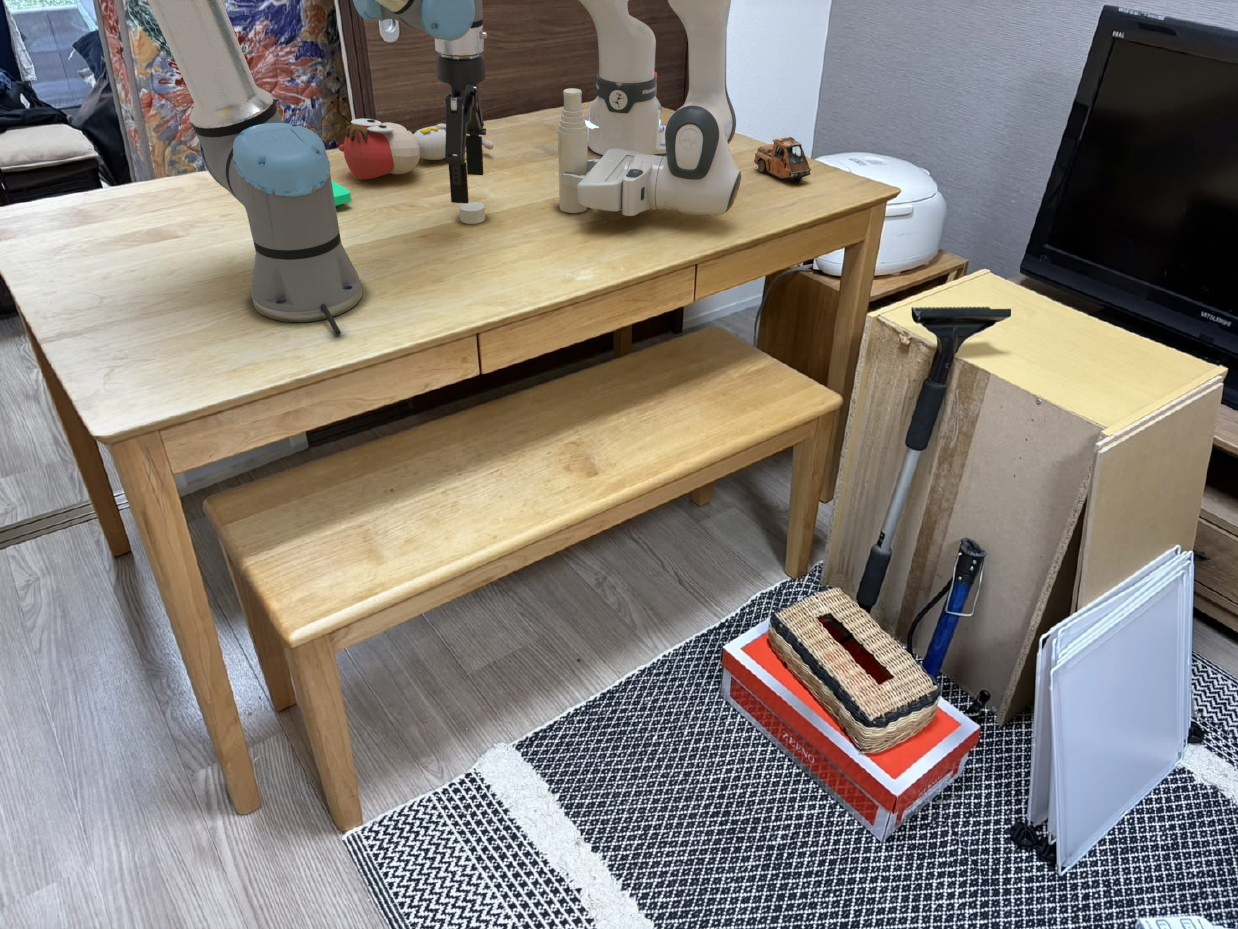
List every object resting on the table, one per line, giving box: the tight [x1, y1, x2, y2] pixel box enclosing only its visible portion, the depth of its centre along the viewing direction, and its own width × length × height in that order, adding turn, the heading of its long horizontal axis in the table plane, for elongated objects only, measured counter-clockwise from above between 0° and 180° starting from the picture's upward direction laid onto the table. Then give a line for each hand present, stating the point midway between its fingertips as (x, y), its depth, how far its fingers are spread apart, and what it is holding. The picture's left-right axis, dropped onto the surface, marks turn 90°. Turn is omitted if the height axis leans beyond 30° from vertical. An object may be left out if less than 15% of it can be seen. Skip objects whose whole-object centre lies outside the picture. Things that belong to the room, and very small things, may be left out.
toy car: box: [753, 136, 812, 184], centre depth 179 cm, size 6×12×7 cm, turn 39°
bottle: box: [557, 87, 588, 214], centre depth 159 cm, size 5×5×20 cm
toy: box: [338, 118, 494, 181], centre depth 178 cm, size 18×10×30 cm
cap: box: [459, 201, 486, 225], centre depth 159 cm, size 4×4×2 cm
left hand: (468, 187), depth 156 cm, fingers open, 13 cm apart
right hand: (568, 171), depth 162 cm, fingers closed on bottle, 5 cm apart
